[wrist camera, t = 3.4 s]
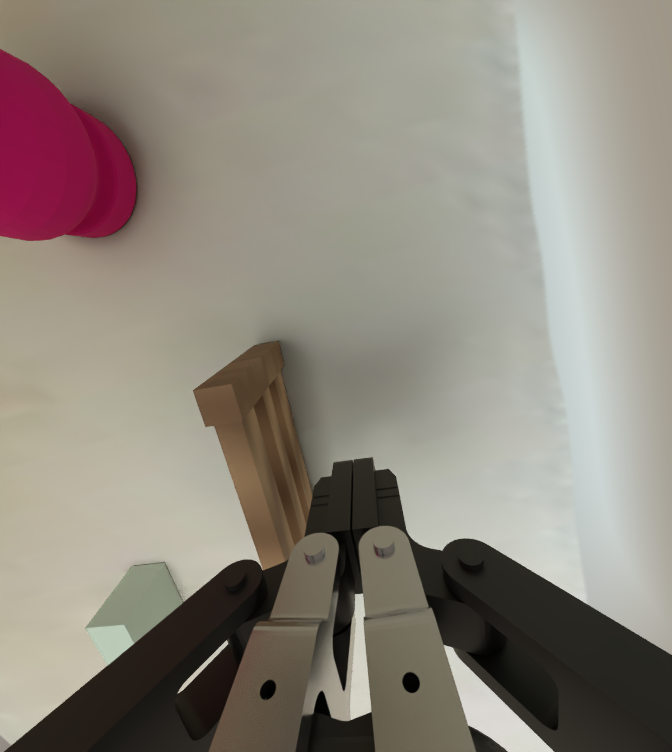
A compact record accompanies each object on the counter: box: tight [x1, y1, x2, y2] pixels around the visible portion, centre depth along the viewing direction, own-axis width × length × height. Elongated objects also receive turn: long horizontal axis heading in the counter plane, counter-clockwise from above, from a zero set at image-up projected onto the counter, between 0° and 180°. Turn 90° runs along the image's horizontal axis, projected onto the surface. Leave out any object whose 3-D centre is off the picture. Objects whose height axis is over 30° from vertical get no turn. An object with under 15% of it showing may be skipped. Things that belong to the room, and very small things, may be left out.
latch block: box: [85, 563, 183, 666], centre depth 26 cm, size 6×3×5 cm, turn 11°
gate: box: [193, 341, 313, 570], centre depth 18 cm, size 14×2×8 cm, turn 11°
